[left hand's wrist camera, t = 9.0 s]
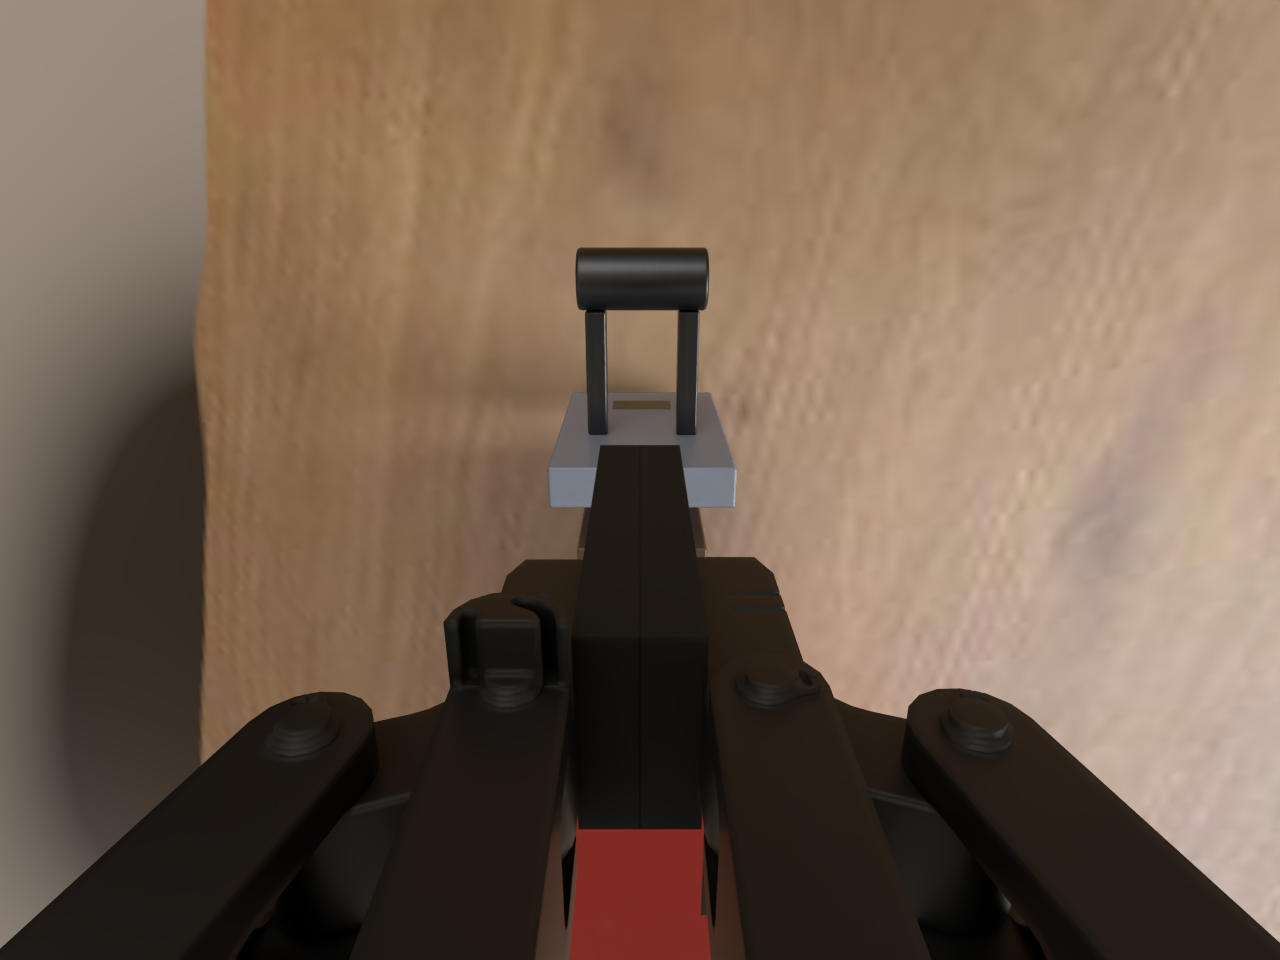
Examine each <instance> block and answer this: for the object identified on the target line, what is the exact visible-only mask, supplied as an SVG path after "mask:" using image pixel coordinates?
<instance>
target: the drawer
mask: <svg viewBox="0 0 1280 960" xmlns="http://www.w3.org/2000/svg"><path fill="white" fill-rule="evenodd" d="M708 292H709V256H708V251H707V249H706V248H578V250H577V253H576V297H577V305H578V308H579V309H580V310H586V313H585V331H586V371H587V393H572V396H571V399H570V402H569V405H568V408H567V411H566V414H565V418H564V421H563V424H562V427H561V430H560V433H559V436H558V439H557V442H556V445H555V448H554V451H553V454H552V457H551V461H550V464H549V467H548V490H549V505H550V507H585V508H584V513H583V519H582V525H581V531H580V537H579V542H578V548H577V556H578V560H583V555H584V549H585V542H586V536H587V529H588V523H589V516H590V510H591V503H592V496H593V490H594V483H595V477H596V470H597V464H598V457H599V450H600V445H680V450H681V457H682V464H683V470H684V477H685V483H686V490H687V496H688V503H689V510H690V516H691V523H692V529H693V536H694V542H695V549H696V555H697V557H707V548H706V542H705V537H704V531H703V526H702V521H701V515H700V510H699V507H734V506H735V499H736V478H737V468H736V465H735V462H734V460H733V457H732V454H731V451H730V448H729V445H728V442H727V439H726V436H725V433H724V430H723V427H722V424H721V421H720V419H719V416H718V413H717V410H716V407H715V404H714V401H713V398H712V395H711V393H697V382H698V347H699V311H698V310H705V309H706V307H707V302H708ZM606 310H678V329H677V384H676V393H608V379H607V312H606Z"/></svg>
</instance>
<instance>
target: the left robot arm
mask: <svg viewBox="0 0 1280 960" xmlns="http://www.w3.org/2000/svg"><path fill="white" fill-rule="evenodd" d="M444 631H445V641H446V650H447V659H448V669H449V678H450V690H449V692H448V695H447V698H446V700H445V702H443V703H441V704H439V705H437V706H434V707H432V708H430V709H427V710H424V711H420V712H417V713H413V714H410V715H405V716H401V717H396V718H391V719H387V720H382V721H377V722H374V720H373V714H372V709H371V708H370V707H369V706H368V705H367V704H366V703H365V702H364V701H363V700H362V699H361V698H358V697H355V696H352V695H350V694H347V693H344V692H317V693H311V694H307V695H306V694H305V695H301V696H297V697H293V698H291V699H289V700H286V701H284V702H281V703H279V704H276V705H274V706H272V707H270V708H268V709H267V710H265V711H264V712H262V713H261V714H260V715H258V716H257V717H255V718H254V719H252V720H251V721H250V722H248V723H247V724H246V725H245V726H244V727H243V728H242V729H241V730H240V731H239V732H237V733H236V734H235V735H234V736H233V737H232V738H231V739H230V740H229V741H228V742H226V743H225V744H224V745H223V746H222V747H221V748H220V749H219V750H218V751H217V752H215V753H214V754H213V755H212V756H211V757H210V758H209V759H208V760H207V761H206V762H205V763H203V764H202V765H201V766H200V767H199V768H198V769H197V770H196V771H195V772H194V773H192V774H191V775H190V776H189V777H188V778H187V779H186V780H185V781H184V782H183V783H181V784H180V785H179V786H178V787H177V788H176V789H175V790H174V791H173V792H172V793H171V794H169V795H168V796H167V797H166V798H165V799H164V800H163V801H162V802H161V803H160V804H159V805H157V806H156V807H155V808H154V809H153V810H152V811H151V812H150V813H149V814H147V815H146V816H145V817H144V818H143V819H142V820H141V821H140V822H139V823H138V824H137V825H135V826H134V827H133V828H132V829H131V830H130V831H129V832H128V833H127V834H126V835H124V836H123V837H122V838H121V839H120V840H119V841H118V842H117V843H116V844H115V845H114V846H112V847H111V848H110V849H109V850H108V851H107V852H106V853H105V854H104V855H103V856H101V857H100V858H99V859H98V860H97V861H96V862H95V863H94V864H93V865H92V866H90V867H89V868H88V869H87V870H86V871H85V872H84V873H83V874H82V875H81V876H79V877H78V878H77V879H76V880H75V881H74V882H73V883H72V884H71V885H70V886H69V887H67V888H66V889H65V890H64V891H63V892H62V893H61V894H60V895H59V896H58V897H56V898H55V899H54V900H53V901H52V902H51V903H50V904H49V905H48V906H47V907H45V908H44V909H43V910H42V911H41V912H40V913H39V914H38V915H37V916H36V917H35V918H33V919H32V920H31V921H30V922H29V923H28V924H27V925H26V926H25V927H24V928H22V929H21V930H20V931H19V932H18V933H17V934H16V935H15V936H14V937H13V938H11V939H10V940H9V941H8V942H7V943H6V944H5V945H4V946H3V947H2V948H1V949H0V960H569V956H570V944H571V933H572V922H573V911H574V899H575V888H576V877H577V845H576V829H577V819H578V829H702V815H703V825H704V845H703V870H702V896H701V915H707V921H708V932H709V943H710V955H711V960H1280V943H1279V942H1278V941H1277V940H1276V939H1275V938H1274V937H1273V936H1272V935H1271V934H1269V933H1268V932H1267V931H1266V930H1265V929H1264V928H1263V927H1262V926H1261V925H1260V924H1258V923H1257V922H1256V921H1255V920H1254V919H1253V918H1252V917H1251V916H1250V915H1248V914H1247V913H1246V912H1245V911H1244V910H1243V909H1242V908H1241V907H1240V906H1239V905H1237V904H1236V903H1235V902H1234V901H1233V900H1232V899H1231V898H1230V897H1229V896H1227V895H1226V894H1225V893H1224V892H1223V891H1222V890H1221V889H1220V888H1219V887H1218V886H1216V885H1215V884H1214V883H1213V882H1212V881H1211V880H1210V879H1209V878H1208V877H1206V876H1205V875H1204V874H1203V873H1202V872H1201V871H1200V870H1199V869H1198V868H1197V867H1195V866H1194V865H1193V864H1192V863H1191V862H1190V861H1189V860H1188V859H1187V858H1185V857H1184V856H1183V855H1182V854H1181V853H1180V852H1179V851H1178V850H1177V849H1176V848H1174V847H1173V846H1172V845H1171V844H1170V843H1169V842H1168V841H1167V840H1166V839H1164V838H1163V837H1162V836H1161V835H1160V834H1159V833H1158V832H1157V831H1156V830H1155V829H1153V828H1152V827H1151V826H1150V825H1149V824H1148V823H1147V822H1146V821H1145V820H1143V819H1142V818H1141V817H1140V816H1139V815H1138V814H1137V813H1136V812H1135V811H1134V810H1132V809H1131V808H1130V807H1129V806H1128V805H1127V804H1126V803H1125V802H1124V801H1122V800H1121V799H1120V798H1119V797H1118V796H1117V795H1116V794H1115V793H1114V792H1113V791H1111V790H1110V789H1109V788H1108V787H1107V786H1106V785H1105V784H1104V783H1103V782H1101V781H1100V780H1099V779H1098V778H1097V777H1096V776H1095V775H1094V774H1093V773H1092V772H1090V771H1089V770H1088V769H1087V768H1086V767H1085V766H1084V765H1083V764H1082V763H1080V762H1079V761H1078V760H1077V759H1076V758H1075V757H1074V756H1073V755H1072V754H1071V753H1069V752H1068V751H1067V750H1066V749H1065V748H1064V747H1063V746H1062V745H1061V744H1059V743H1058V742H1057V741H1056V740H1055V739H1054V738H1053V737H1052V736H1051V735H1050V734H1048V733H1047V732H1046V731H1045V730H1044V729H1043V728H1042V727H1041V726H1040V725H1038V724H1037V723H1036V722H1035V721H1034V720H1033V719H1032V718H1031V717H1029V716H1028V715H1026V714H1025V713H1023V712H1022V711H1020V710H1019V709H1018V708H1016V707H1015V706H1013V705H1012V704H1010V703H1008V702H1005V701H1003V700H1000V699H998V698H996V697H993V696H991V695H988V694H986V693H981V692H977V691H971V690H965V689H960V688H959V689H936V690H933V691H930V692H927V693H924V694H921V695H919V696H918V697H917V698H916V699H915V700H914V701H913V702H912V703H911V704H910V705H909V707H908V714H907V719H904V718H899V717H895V716H890V715H885V714H880V713H876V712H871V711H867V710H864V709H860V708H857V707H853V706H851V705H848V704H846V703H844V702H842V701H840V700H837V699H835V698H834V697H833V694H832V691H831V689H830V686H829V685H828V683H827V682H826V680H825V679H824V677H823V676H822V675H821V673H820V672H818V671H817V670H816V669H814V668H813V667H811V666H810V665H808V664H807V663H805V662H804V661H803V659H802V656H801V653H800V650H799V647H798V644H797V641H796V639H795V636H794V633H793V630H792V627H791V624H790V621H789V618H788V615H787V612H786V611H785V606H784V603H783V601H782V598H781V595H779V589H778V586H777V583H776V580H775V577H774V574H773V573H772V572H771V571H770V570H769V569H768V568H766V567H765V566H764V565H763V564H762V563H760V562H759V561H758V560H757V559H756V558H755V557H697V555H696V549H695V542H694V536H693V529H692V523H691V516H690V510H689V503H688V496H687V490H686V483H685V477H684V470H683V464H682V457H681V450H680V445H600V450H599V457H598V464H597V470H596V477H595V483H594V490H593V496H592V503H591V510H590V516H589V523H588V529H587V536H586V542H585V549H584V555H583V560H525V561H524V562H523V563H521V564H520V565H519V566H518V567H517V568H515V569H514V570H513V571H512V572H511V573H510V574H508V575H507V577H506V580H505V583H504V586H503V589H502V592H501V593H493V594H489V595H486V596H482V597H479V598H476V599H472V600H470V601H468V602H466V603H465V604H463V605H461V606H459V607H458V608H456V609H454V610H453V611H452V612H451V614H450V615H449V616H448V617H447V619H446V620H445V621H444Z"/></svg>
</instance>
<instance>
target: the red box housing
mask: <svg viewBox="0 0 1280 960" xmlns="http://www.w3.org/2000/svg"><path fill="white" fill-rule="evenodd" d="M576 845H577V877H576V888H575V899H574V911H573V922H572V933H571V944H570V956H569V960H711V955H710V943H709V932H708V921H707V915H701V896H702V870H703V845H704V825H703V815H702V829H578V819H577V829H576Z"/></svg>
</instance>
